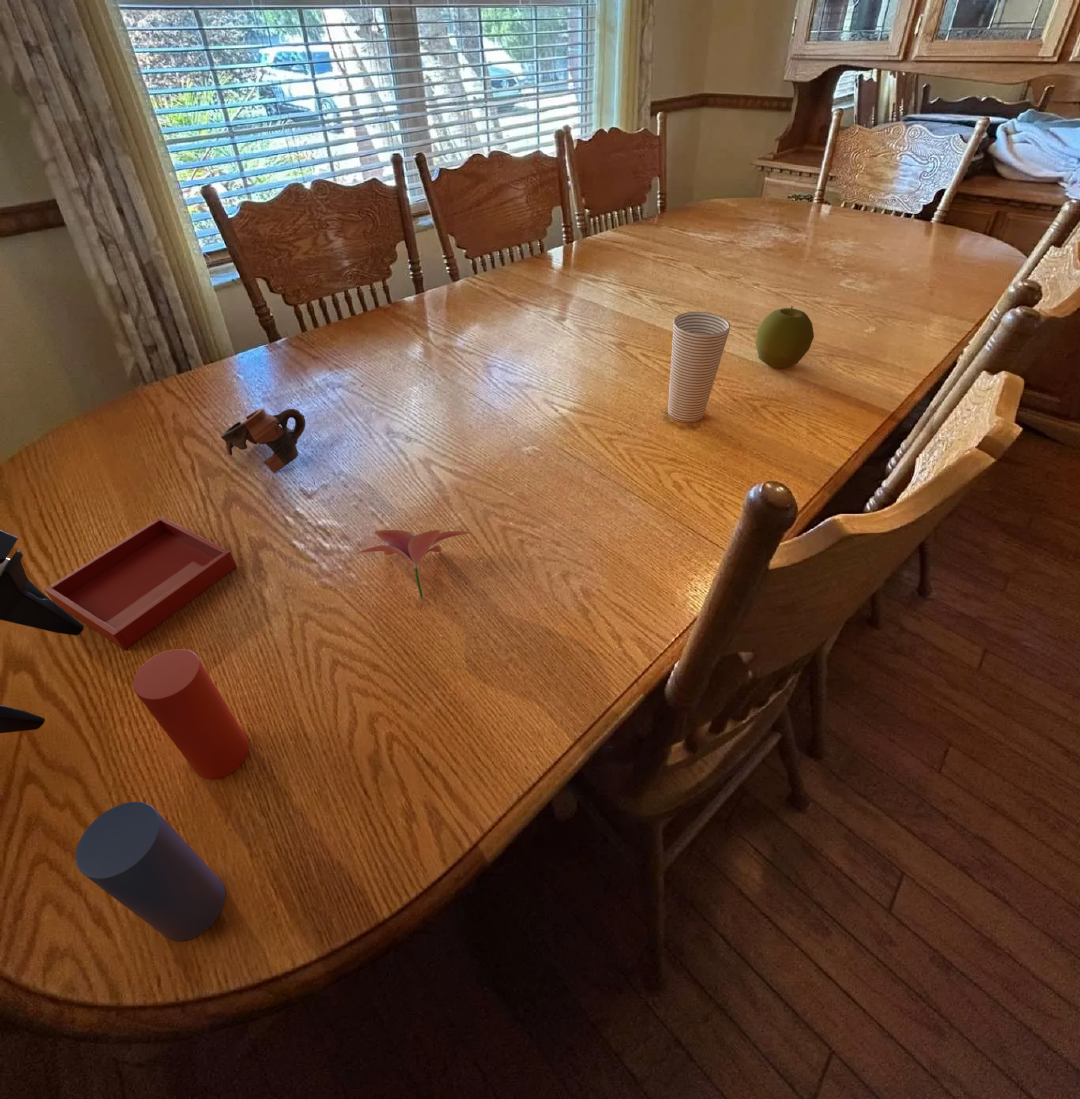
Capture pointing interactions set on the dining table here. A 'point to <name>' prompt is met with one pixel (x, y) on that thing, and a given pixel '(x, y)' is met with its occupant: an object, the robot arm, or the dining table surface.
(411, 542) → the lily
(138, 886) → the blue pin
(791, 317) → the apple
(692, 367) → the cup
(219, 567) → the red tray
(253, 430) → the brown irregular piece
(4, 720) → the robot arm
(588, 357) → the dining table surface
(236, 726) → the red pin
